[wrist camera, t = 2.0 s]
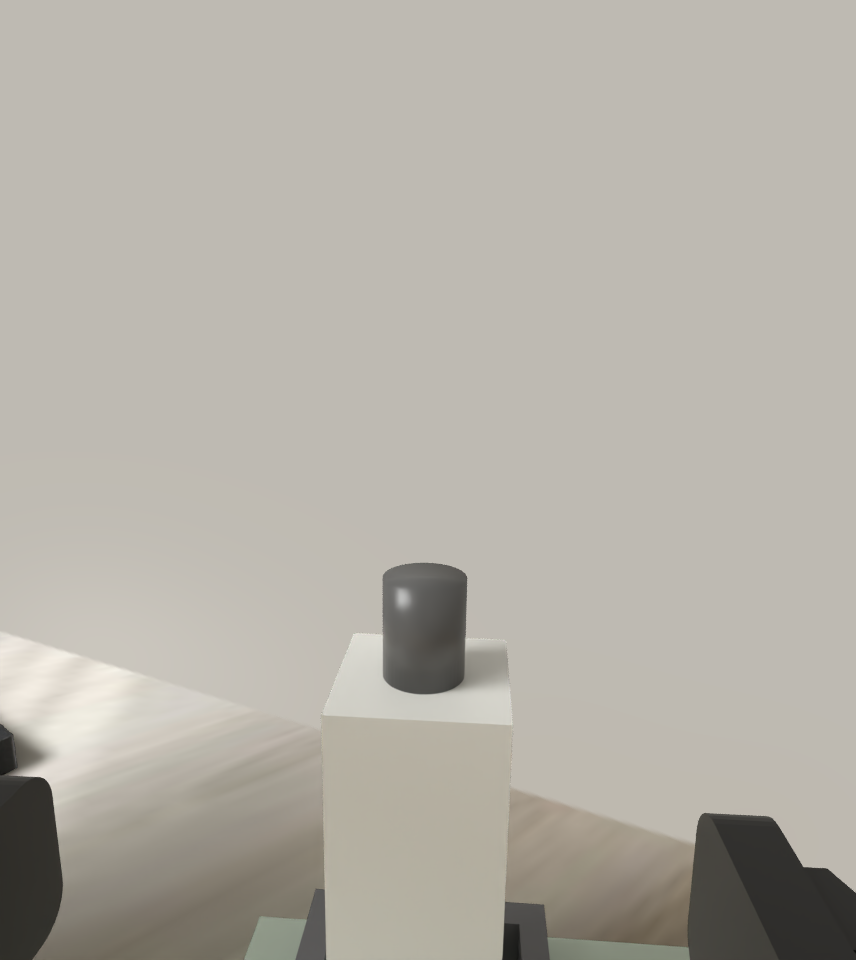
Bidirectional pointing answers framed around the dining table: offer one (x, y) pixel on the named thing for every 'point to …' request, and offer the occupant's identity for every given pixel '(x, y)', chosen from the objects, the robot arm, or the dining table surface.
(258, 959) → the panel
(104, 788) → the dining table surface
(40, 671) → the dining table surface
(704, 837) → the robot arm
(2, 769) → the disk drive
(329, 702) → the white square bottle
